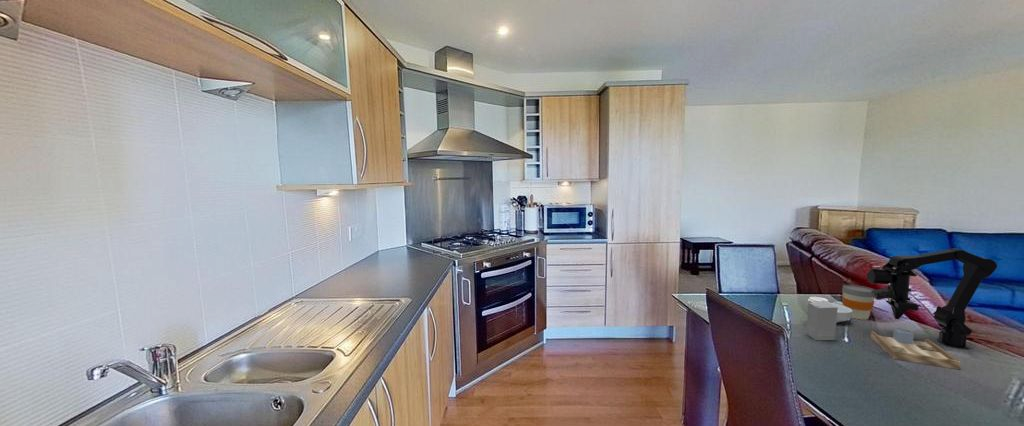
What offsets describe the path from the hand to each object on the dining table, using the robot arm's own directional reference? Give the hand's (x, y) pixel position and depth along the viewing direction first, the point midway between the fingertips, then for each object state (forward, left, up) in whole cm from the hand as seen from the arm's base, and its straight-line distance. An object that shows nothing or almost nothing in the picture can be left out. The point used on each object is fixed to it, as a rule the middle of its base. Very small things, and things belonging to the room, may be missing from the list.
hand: (896, 319), depth 158 cm
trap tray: (0, +14, -9) cm, 17 cm away
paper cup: (+27, -1, -9) cm, 29 cm away
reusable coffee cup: (+5, -27, -9) cm, 29 cm away
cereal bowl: (+19, -15, -9) cm, 26 cm away
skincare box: (+29, +14, -9) cm, 34 cm away
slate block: (0, +7, -7) cm, 10 cm away
